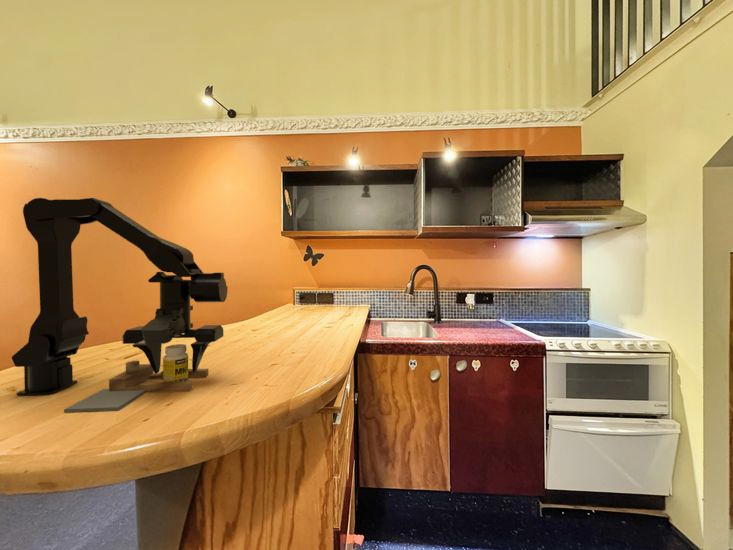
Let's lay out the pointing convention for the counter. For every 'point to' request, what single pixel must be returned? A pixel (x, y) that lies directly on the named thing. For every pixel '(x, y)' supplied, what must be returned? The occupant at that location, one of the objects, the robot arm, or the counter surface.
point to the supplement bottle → (175, 363)
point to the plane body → (141, 373)
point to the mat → (105, 401)
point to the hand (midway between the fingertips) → (175, 372)
